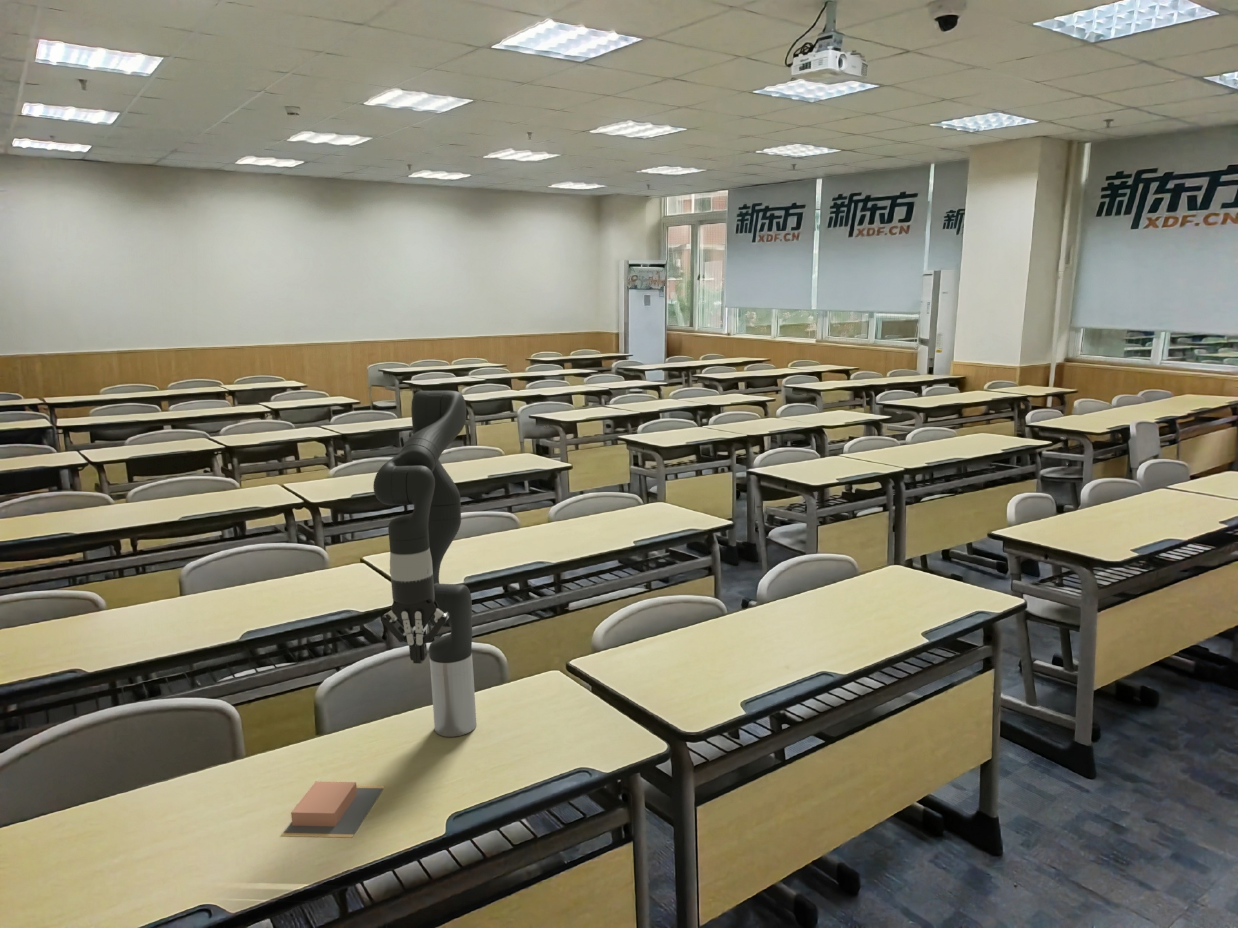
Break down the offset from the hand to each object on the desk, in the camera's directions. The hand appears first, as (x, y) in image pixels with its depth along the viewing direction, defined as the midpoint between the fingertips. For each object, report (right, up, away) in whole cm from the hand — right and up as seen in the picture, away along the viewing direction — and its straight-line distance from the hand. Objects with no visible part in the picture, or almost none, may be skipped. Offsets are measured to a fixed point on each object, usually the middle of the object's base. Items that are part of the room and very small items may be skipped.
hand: (418, 661), depth 152 cm
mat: (-15, -28, -1) cm, 32 cm away
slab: (-13, -26, -2) cm, 29 cm away
